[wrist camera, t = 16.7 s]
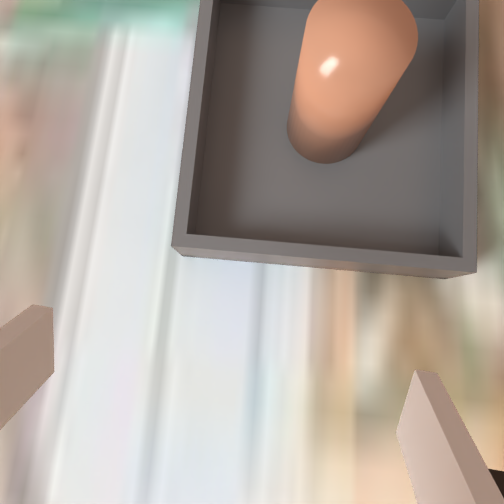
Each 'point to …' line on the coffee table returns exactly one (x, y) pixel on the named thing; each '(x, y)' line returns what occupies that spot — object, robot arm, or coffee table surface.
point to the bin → (334, 174)
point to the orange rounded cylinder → (347, 73)
